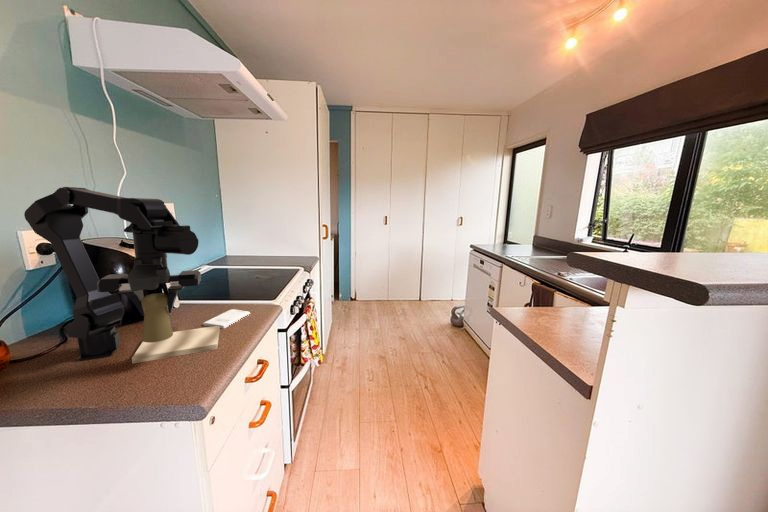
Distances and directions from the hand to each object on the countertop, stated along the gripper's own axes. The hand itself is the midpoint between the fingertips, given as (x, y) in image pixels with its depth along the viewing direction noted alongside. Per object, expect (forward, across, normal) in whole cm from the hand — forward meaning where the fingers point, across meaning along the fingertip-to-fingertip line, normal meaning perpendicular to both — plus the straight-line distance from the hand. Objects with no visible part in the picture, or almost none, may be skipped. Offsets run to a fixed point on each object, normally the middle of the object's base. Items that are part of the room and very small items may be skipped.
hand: (157, 313), depth 69 cm
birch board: (+12, +3, +7) cm, 15 cm away
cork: (+6, 0, 0) cm, 6 cm away
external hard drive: (+13, +14, +22) cm, 29 cm away
